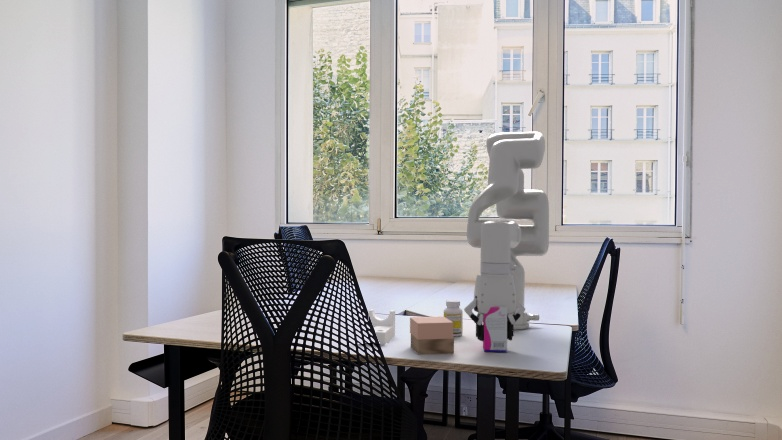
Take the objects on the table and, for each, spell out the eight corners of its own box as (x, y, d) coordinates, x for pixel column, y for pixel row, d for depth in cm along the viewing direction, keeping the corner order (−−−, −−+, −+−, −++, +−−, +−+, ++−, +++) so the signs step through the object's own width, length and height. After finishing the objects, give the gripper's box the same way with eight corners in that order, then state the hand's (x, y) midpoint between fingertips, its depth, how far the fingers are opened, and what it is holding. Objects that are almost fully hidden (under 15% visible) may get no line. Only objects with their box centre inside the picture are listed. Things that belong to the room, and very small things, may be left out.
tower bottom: (444, 347, 159) (444, 331, 159) (453, 354, 150) (454, 338, 150) (410, 348, 158) (410, 332, 158) (418, 355, 149) (418, 339, 149)
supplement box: (505, 347, 157) (505, 303, 157) (507, 352, 151) (507, 307, 151) (482, 347, 158) (482, 303, 158) (483, 352, 152) (484, 306, 152)
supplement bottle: (448, 332, 178) (448, 299, 178) (465, 334, 175) (465, 300, 175) (440, 335, 174) (440, 301, 174) (457, 337, 171) (458, 302, 171)
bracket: (370, 335, 174) (370, 309, 174) (394, 336, 172) (395, 310, 172) (358, 344, 161) (359, 316, 161) (384, 346, 159) (385, 317, 159)
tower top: (443, 331, 159) (443, 316, 159) (453, 338, 150) (453, 322, 150) (410, 332, 158) (410, 317, 158) (417, 339, 149) (417, 323, 149)
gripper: (521, 268, 160) (521, 336, 160) (458, 268, 157) (457, 337, 157) (533, 270, 152) (532, 341, 152) (466, 271, 149) (466, 343, 149)
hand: (494, 339), depth 155 cm, fingers closed on supplement box, 6 cm apart
